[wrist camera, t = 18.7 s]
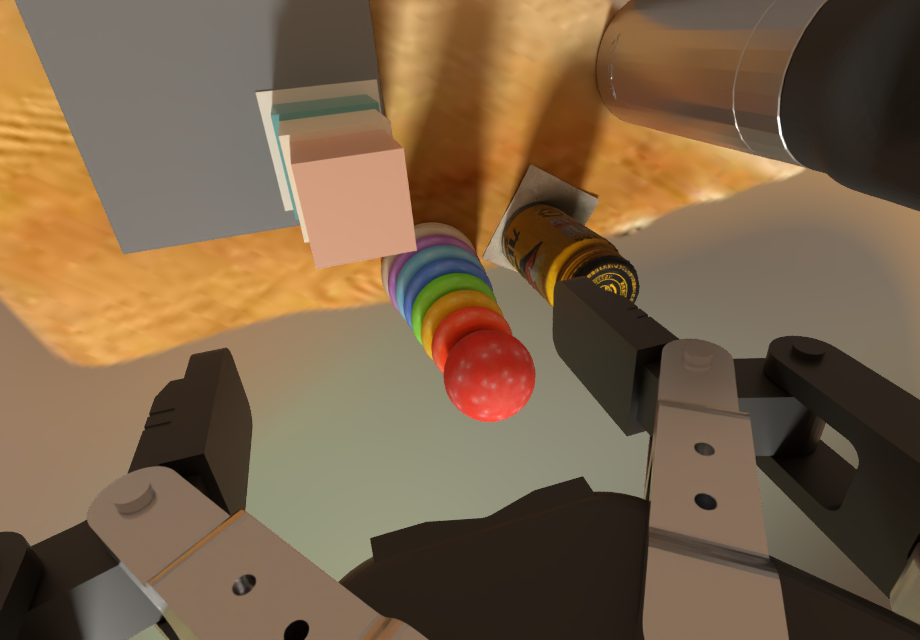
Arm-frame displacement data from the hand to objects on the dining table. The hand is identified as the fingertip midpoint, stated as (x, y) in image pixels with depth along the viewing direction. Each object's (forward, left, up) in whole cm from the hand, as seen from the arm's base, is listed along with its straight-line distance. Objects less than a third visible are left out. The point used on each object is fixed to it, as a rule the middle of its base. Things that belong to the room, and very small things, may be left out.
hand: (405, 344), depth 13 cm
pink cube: (0, 0, -16) cm, 16 cm away
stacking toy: (-6, +11, -28) cm, 30 cm away
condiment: (-16, +9, -28) cm, 33 cm away
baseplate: (+5, -2, -28) cm, 28 cm away
